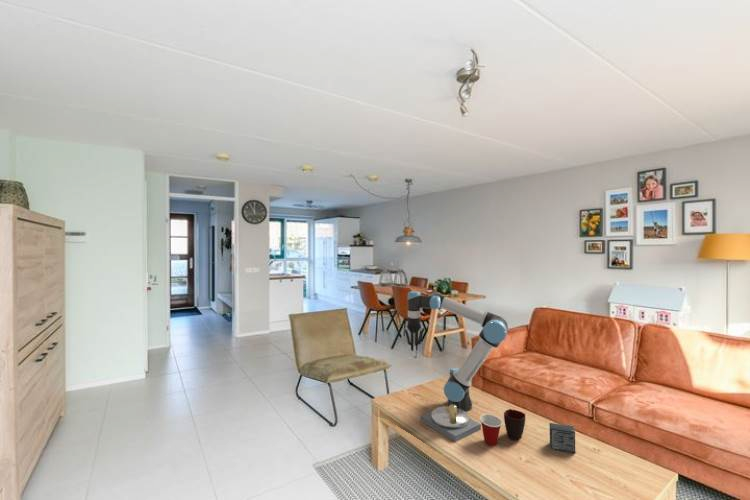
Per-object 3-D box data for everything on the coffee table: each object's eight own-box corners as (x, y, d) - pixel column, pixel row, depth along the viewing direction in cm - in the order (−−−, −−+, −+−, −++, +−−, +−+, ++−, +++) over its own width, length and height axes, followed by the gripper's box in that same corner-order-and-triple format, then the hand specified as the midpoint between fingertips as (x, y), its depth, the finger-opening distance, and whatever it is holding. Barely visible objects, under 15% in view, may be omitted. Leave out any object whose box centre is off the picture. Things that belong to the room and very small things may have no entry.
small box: (572, 446, 172) (573, 425, 172) (575, 453, 166) (575, 432, 166) (549, 442, 176) (549, 421, 176) (551, 449, 170) (551, 428, 169)
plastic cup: (493, 451, 168) (493, 427, 168) (475, 441, 177) (475, 418, 177) (507, 444, 174) (507, 420, 174) (488, 434, 183) (488, 412, 183)
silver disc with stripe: (436, 407, 206) (436, 388, 206) (471, 414, 198) (471, 394, 198) (427, 424, 188) (427, 403, 188) (465, 432, 180) (465, 410, 180)
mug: (501, 437, 180) (501, 414, 180) (511, 426, 191) (511, 405, 190) (521, 444, 174) (521, 421, 174) (530, 433, 184) (530, 410, 184)
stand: (420, 420, 198) (420, 415, 198) (445, 410, 210) (445, 405, 210) (455, 441, 177) (455, 435, 177) (480, 429, 188) (480, 423, 188)
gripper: (422, 315, 216) (422, 353, 217) (402, 316, 214) (402, 354, 215) (426, 318, 209) (426, 357, 209) (405, 318, 207) (405, 358, 207)
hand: (414, 355), depth 212 cm, fingers closed
